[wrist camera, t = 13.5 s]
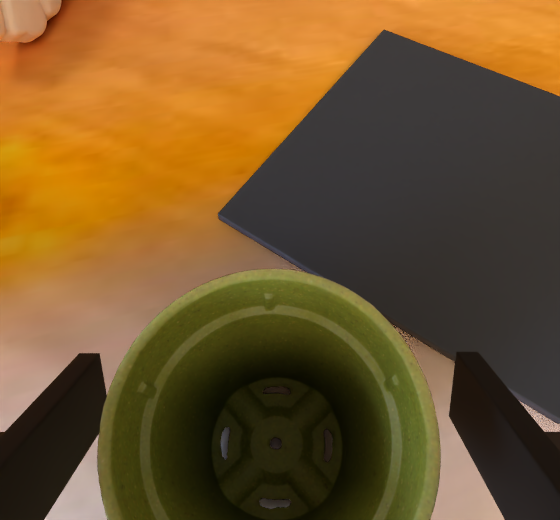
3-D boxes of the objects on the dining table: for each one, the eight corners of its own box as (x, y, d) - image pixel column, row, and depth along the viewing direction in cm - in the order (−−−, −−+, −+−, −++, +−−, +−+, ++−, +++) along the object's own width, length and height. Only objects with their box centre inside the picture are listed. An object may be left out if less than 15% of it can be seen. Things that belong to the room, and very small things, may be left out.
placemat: (558, 424, 19) (565, 422, 19) (218, 219, 25) (216, 213, 25) (665, 145, 27) (672, 138, 26) (382, 36, 32) (383, 29, 32)
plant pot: (369, 341, 21) (411, 263, 14) (396, 569, 17) (478, 642, 9) (186, 345, 22) (125, 271, 14) (165, 571, 17) (61, 645, 10)
